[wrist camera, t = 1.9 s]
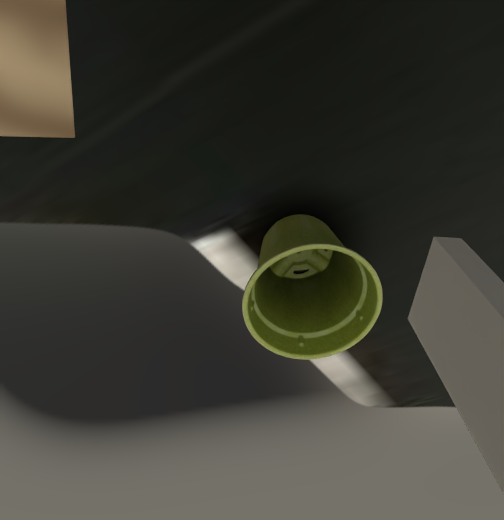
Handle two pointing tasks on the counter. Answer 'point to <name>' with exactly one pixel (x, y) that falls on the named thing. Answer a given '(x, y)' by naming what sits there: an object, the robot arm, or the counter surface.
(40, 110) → the oak riser
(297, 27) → the counter surface
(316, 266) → the plant pot
